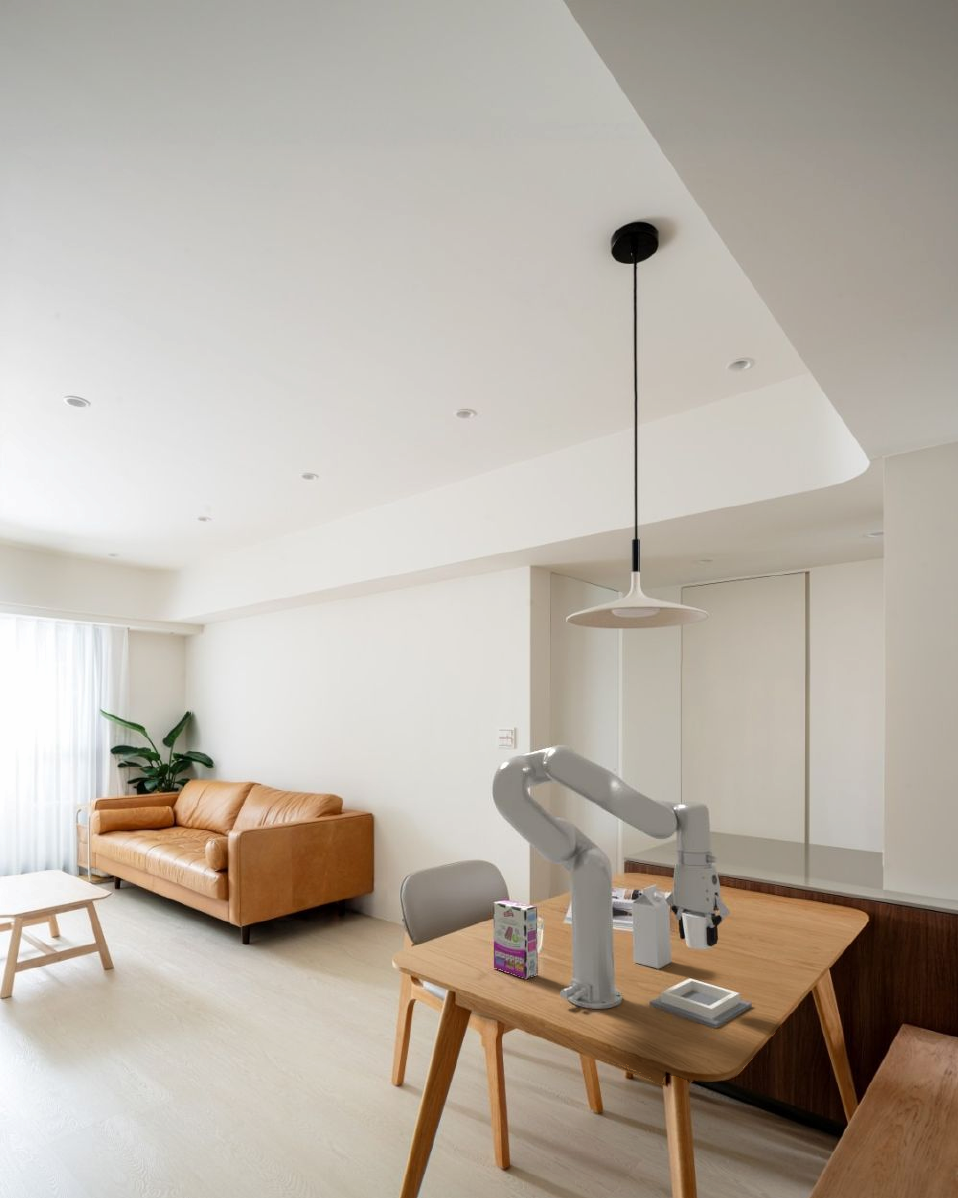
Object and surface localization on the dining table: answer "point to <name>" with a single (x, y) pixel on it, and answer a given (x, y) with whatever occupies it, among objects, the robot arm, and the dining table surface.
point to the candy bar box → (515, 938)
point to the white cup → (695, 929)
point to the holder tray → (701, 1002)
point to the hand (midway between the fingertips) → (698, 940)
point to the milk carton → (651, 929)
